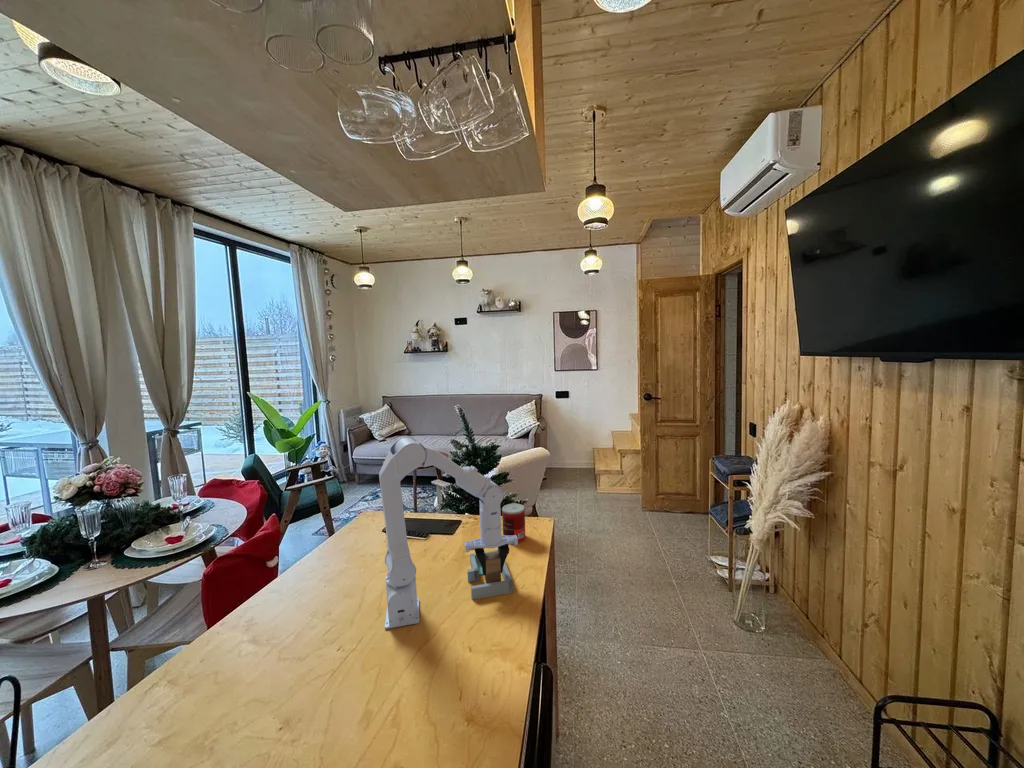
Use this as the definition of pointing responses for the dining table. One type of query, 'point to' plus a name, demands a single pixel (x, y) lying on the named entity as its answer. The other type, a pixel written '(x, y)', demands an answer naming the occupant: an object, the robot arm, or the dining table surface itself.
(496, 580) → the block
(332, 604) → the dining table surface
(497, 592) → the grey open rectangular frame
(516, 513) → the canned food
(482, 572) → the pad
